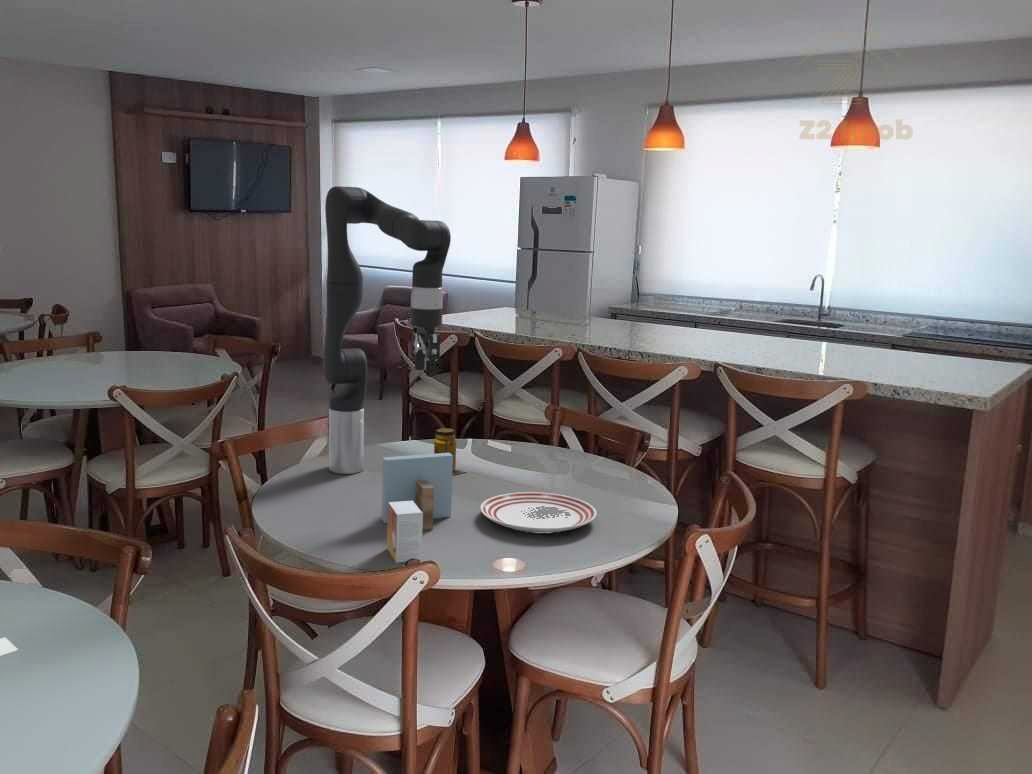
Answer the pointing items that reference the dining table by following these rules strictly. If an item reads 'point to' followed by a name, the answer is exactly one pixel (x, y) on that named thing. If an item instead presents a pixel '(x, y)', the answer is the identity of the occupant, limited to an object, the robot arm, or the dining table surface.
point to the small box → (404, 531)
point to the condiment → (447, 445)
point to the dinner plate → (511, 505)
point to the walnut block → (425, 502)
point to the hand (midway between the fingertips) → (424, 373)
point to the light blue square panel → (412, 468)
